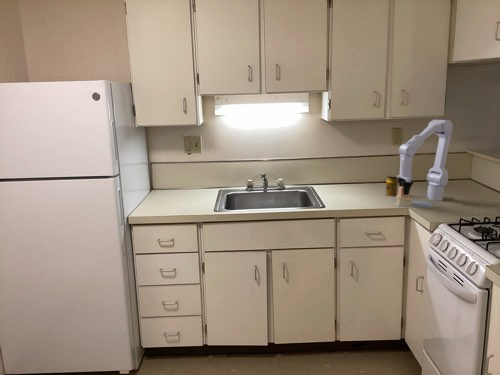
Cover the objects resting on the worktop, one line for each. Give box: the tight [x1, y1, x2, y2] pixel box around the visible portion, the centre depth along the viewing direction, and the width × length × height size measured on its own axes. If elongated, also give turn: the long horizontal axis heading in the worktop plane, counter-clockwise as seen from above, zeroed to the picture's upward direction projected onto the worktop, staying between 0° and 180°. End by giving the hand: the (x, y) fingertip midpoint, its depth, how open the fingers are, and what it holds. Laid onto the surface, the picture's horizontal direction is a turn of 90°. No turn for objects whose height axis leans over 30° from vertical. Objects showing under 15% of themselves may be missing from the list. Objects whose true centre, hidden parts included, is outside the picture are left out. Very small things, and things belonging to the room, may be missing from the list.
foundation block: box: [395, 194, 412, 205], centre depth 222 cm, size 6×6×4 cm
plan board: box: [392, 200, 435, 208], centre depth 222 cm, size 12×18×1 cm, turn 84°
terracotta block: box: [398, 185, 411, 198], centre depth 221 cm, size 4×4×5 cm
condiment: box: [385, 175, 399, 197], centre depth 241 cm, size 7×8×12 cm
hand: (404, 193), depth 221 cm, fingers open, 7 cm apart
